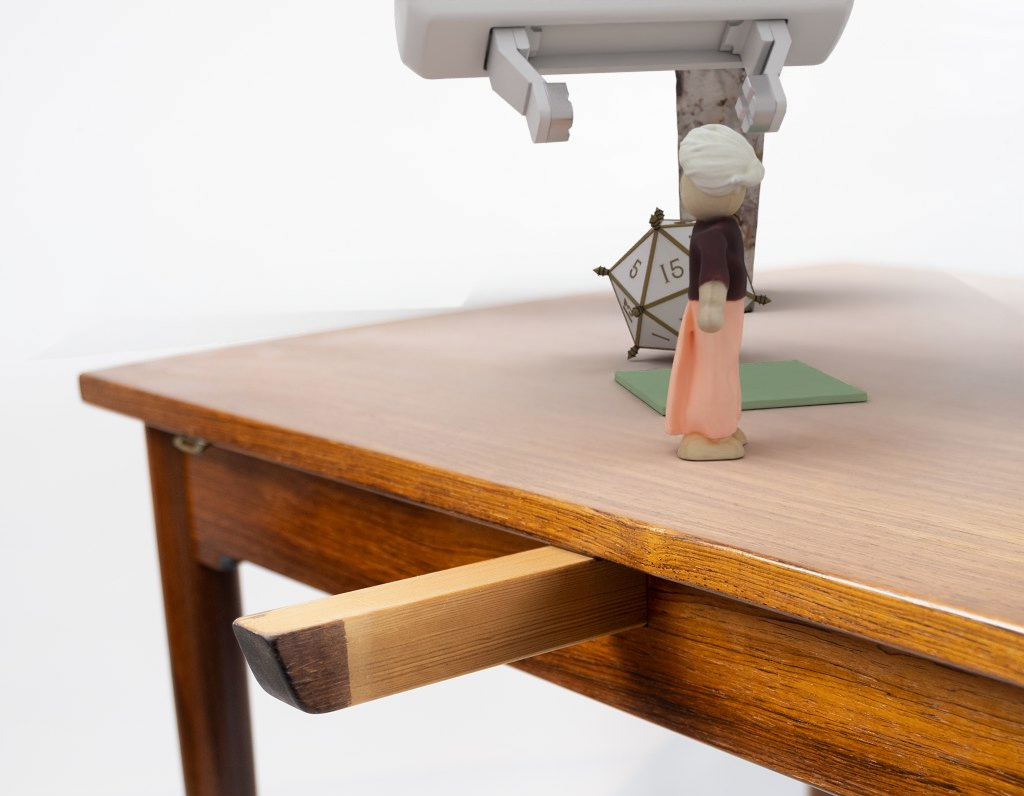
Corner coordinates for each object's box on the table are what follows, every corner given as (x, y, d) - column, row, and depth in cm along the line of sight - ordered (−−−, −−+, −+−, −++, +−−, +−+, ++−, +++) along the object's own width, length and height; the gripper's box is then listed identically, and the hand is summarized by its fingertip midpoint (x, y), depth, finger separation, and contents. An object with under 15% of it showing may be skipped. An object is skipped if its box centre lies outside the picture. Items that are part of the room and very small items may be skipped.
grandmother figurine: (658, 433, 66) (659, 124, 62) (746, 430, 66) (753, 120, 61) (670, 474, 59) (671, 128, 54) (768, 471, 59) (778, 124, 54)
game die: (653, 421, 87) (606, 269, 89) (795, 366, 85) (743, 211, 87) (613, 367, 79) (562, 201, 81) (769, 304, 77) (712, 135, 79)
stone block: (778, 312, 100) (788, -22, 93) (672, 315, 101) (674, -17, 93) (760, 288, 113) (768, -9, 105) (666, 291, 113) (667, -5, 105)
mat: (797, 367, 81) (797, 359, 80) (867, 401, 71) (867, 392, 71) (614, 379, 79) (614, 372, 79) (662, 415, 70) (662, 406, 70)
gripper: (782, -51, 74) (862, 169, 69) (367, -43, 69) (420, 192, 64) (825, -171, 68) (916, 59, 63) (376, -171, 64) (435, 76, 58)
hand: (662, 127), depth 63 cm, fingers open, 8 cm apart
